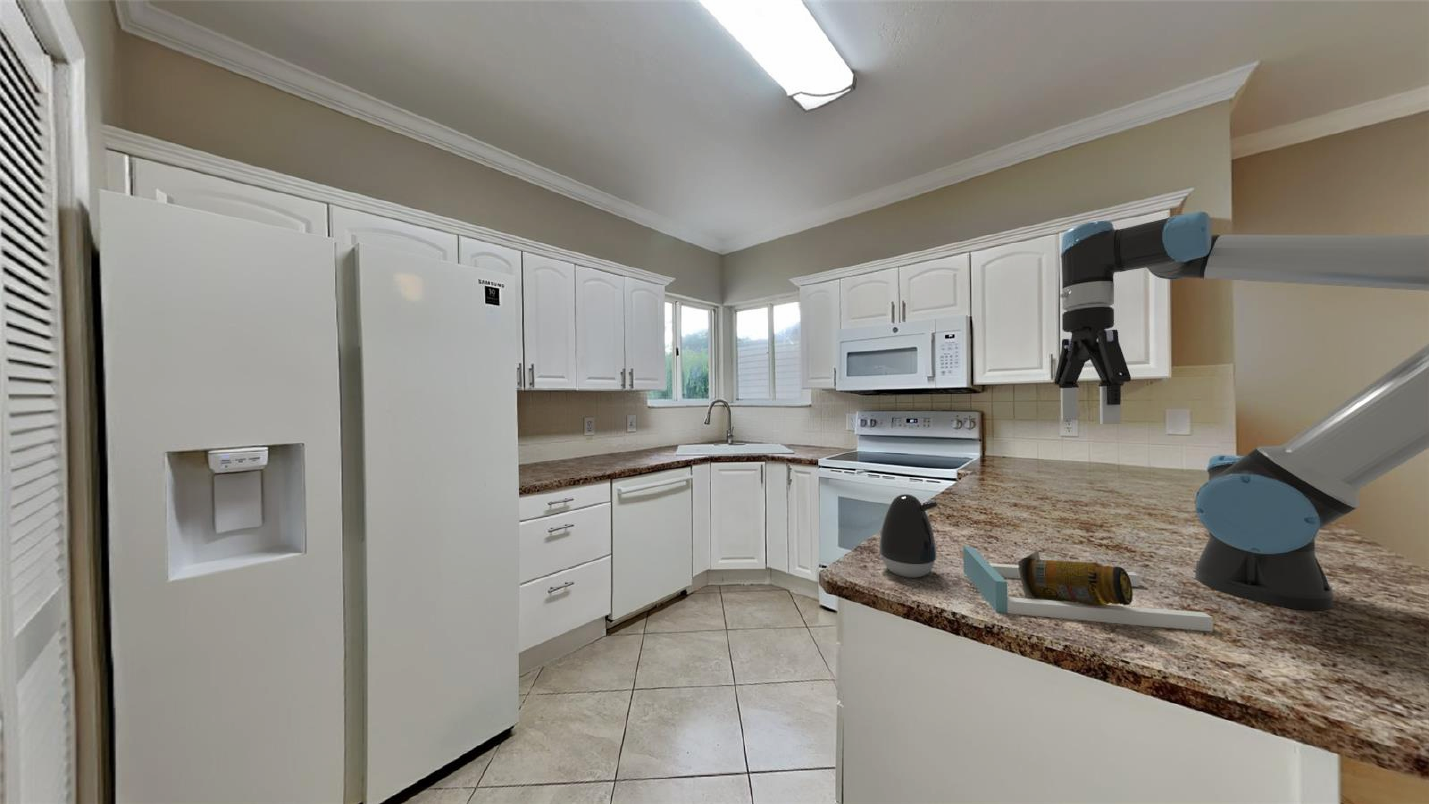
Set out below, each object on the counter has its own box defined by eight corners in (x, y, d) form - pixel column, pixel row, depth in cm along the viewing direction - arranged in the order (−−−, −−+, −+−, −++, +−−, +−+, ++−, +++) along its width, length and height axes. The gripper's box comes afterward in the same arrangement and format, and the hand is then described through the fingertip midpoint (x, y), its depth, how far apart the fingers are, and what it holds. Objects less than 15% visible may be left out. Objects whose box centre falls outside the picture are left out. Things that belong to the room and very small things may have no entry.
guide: (1133, 583, 81) (1133, 555, 81) (1213, 631, 65) (1212, 596, 65) (963, 571, 88) (963, 546, 88) (996, 613, 71) (995, 581, 71)
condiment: (1047, 595, 77) (1139, 604, 68) (1027, 609, 72) (1123, 621, 63) (1036, 550, 78) (1125, 554, 69) (1015, 561, 74) (1108, 566, 64)
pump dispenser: (934, 588, 81) (933, 502, 81) (873, 576, 86) (872, 496, 86) (941, 569, 89) (940, 492, 89) (886, 560, 95) (885, 487, 95)
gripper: (1034, 320, 98) (1035, 418, 99) (1103, 296, 74) (1104, 426, 74) (1075, 318, 97) (1076, 418, 97) (1158, 292, 72) (1159, 426, 73)
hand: (1088, 422), depth 86 cm, fingers open, 13 cm apart
